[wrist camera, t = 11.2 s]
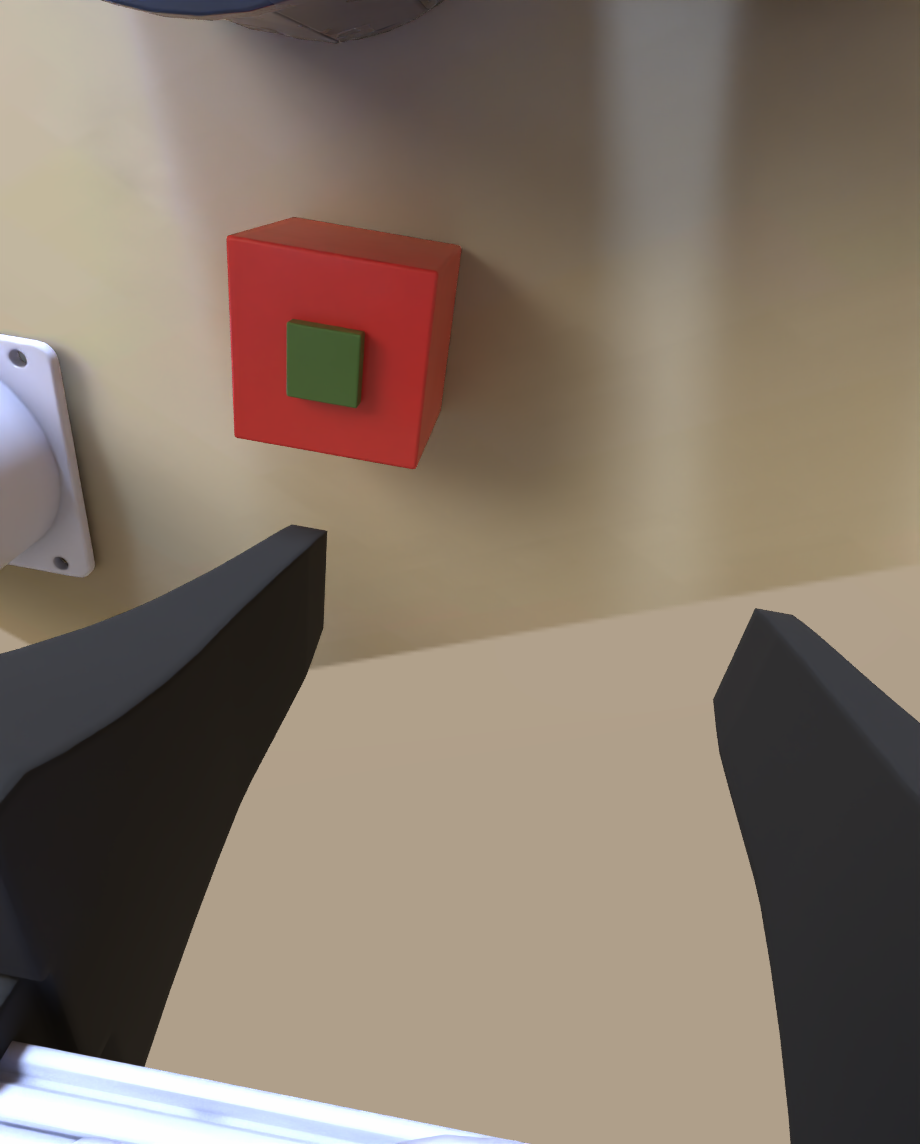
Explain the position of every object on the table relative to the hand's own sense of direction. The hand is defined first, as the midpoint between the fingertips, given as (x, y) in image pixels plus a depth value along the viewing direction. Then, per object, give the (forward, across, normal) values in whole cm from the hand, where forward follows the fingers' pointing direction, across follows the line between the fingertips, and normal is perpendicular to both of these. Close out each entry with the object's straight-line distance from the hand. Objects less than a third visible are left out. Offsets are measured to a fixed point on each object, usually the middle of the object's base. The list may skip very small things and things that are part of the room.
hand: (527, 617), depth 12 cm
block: (+9, +5, -2) cm, 11 cm away
